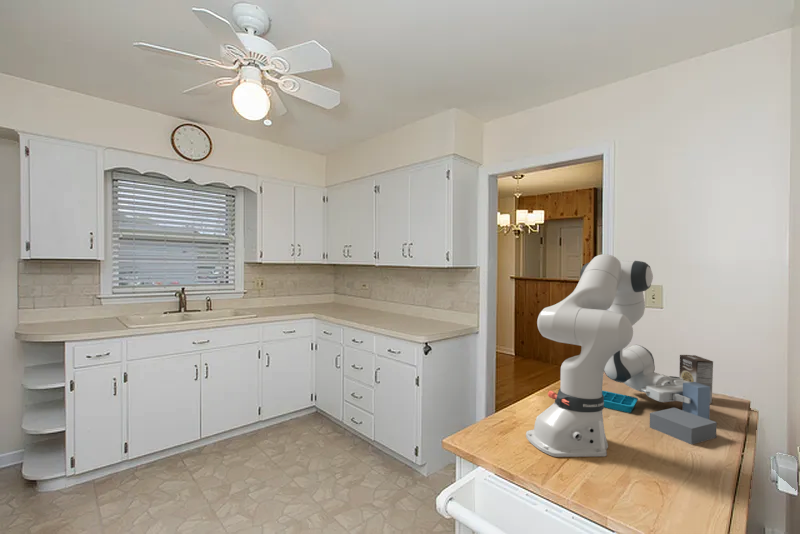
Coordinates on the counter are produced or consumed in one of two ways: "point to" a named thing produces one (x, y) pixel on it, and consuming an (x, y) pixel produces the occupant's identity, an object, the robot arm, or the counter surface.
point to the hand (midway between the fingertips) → (698, 400)
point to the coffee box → (697, 370)
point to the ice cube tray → (619, 401)
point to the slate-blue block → (697, 399)
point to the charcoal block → (683, 425)
